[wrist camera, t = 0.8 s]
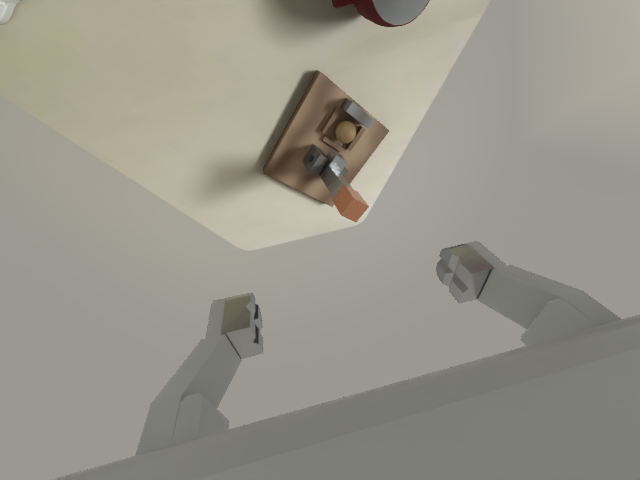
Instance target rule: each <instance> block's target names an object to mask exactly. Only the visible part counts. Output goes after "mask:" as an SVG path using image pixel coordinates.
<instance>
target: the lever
mask: <svg viewBox="0 0 640 480" xmlns="http://www.w3.org/2000/svg"><path fill="white" fill-rule="evenodd" d="M326 157H327V158H328V161H327V162H326V164H325V165H324V167H323V168H322V170H321V171H320V173H319V175H320V177H321V179H322V180H323V182H324V184H325V185H326V187H327V189H328V190H329V192H330V194H331V195H332V197H333V199H332V201H333V202H334V204H335V206H336V208H337V209H338V211H339V213H340V214H341V215H342V216H344V217H346V218H348V219H350V220H352V221H354V222H357V220H358V219H359V218H360V217H361V216H362V214H363V213H364V212H365V211H366V210H367V208H368V207H369V206H368V205H367V203H366V202H365V201H364V200H363V198H362V197H361V196H360V194H359V193H358V192H357V191H355V190H353V188H352V187H351V186H350V184H349V183H348V182H347V180H346V179H345V178H344V176H343V175H342V174H341V173H340V172H341V171H342V170H343V168H344V167H345V165H346V164H347V163H348V162H347V161H346V160H345V159H344V157H343V156H342V155H340V154H339V153H337V152H336V151H334V150H333V149H330V151H329V152H328V154H327V155H326Z"/></svg>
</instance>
